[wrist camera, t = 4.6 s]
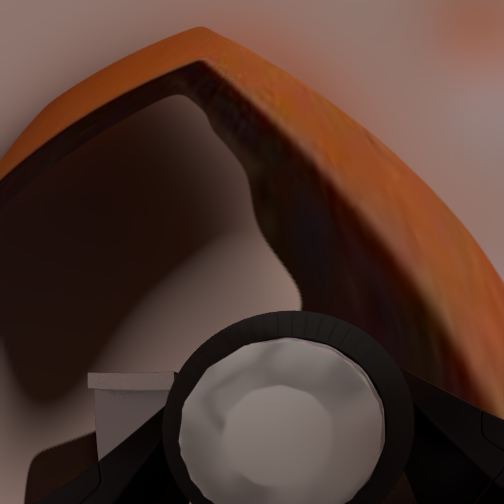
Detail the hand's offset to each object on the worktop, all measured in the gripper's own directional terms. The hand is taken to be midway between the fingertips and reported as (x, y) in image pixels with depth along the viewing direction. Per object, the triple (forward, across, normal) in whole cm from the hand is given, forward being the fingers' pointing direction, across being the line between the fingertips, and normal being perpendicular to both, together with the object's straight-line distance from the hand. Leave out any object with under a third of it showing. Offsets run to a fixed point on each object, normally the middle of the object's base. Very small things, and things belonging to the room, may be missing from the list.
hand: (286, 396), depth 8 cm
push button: (+4, 0, +6) cm, 7 cm away
